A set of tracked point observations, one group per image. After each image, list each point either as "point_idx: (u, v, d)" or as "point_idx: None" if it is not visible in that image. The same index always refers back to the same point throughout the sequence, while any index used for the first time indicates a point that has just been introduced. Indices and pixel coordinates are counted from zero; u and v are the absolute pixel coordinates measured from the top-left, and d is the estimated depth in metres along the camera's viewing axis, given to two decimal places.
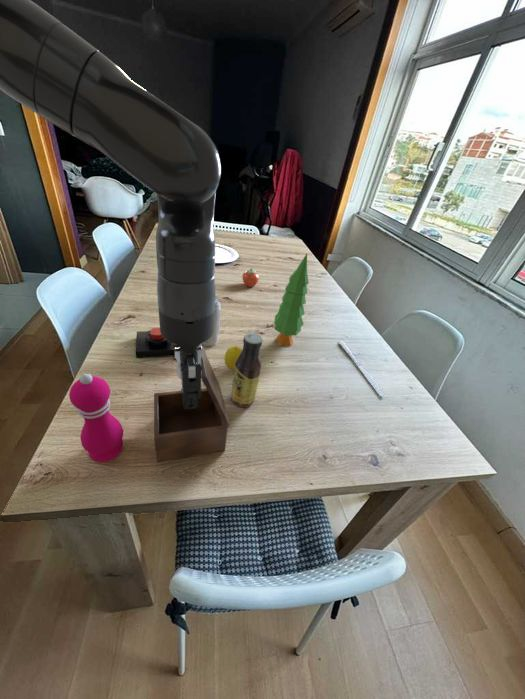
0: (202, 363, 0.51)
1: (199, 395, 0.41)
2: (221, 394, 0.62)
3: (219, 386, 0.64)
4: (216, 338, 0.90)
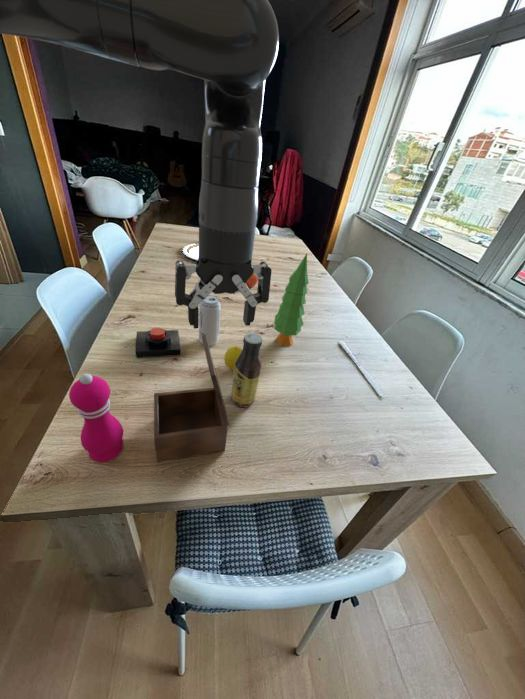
0: (210, 361, 0.51)
1: (176, 298, 0.42)
2: None
3: None
4: (216, 338, 0.90)
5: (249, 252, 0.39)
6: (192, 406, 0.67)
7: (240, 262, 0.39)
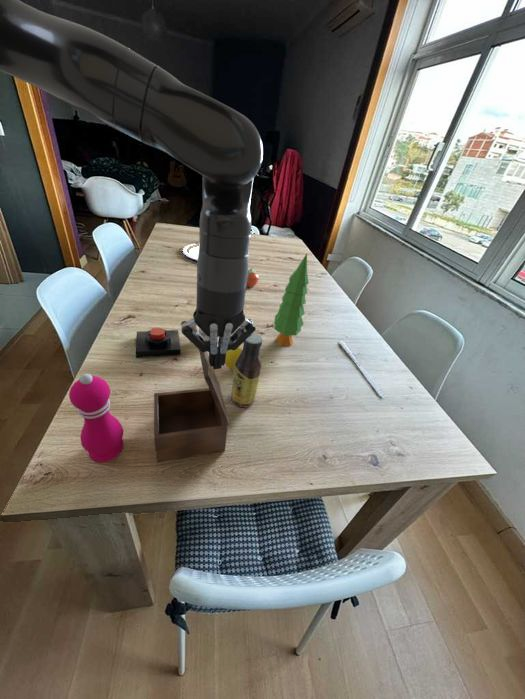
0: (205, 362, 0.51)
1: (199, 349, 0.50)
2: (221, 394, 0.63)
3: (219, 386, 0.64)
4: None
5: (240, 306, 0.45)
6: (192, 406, 0.67)
7: (232, 315, 0.45)
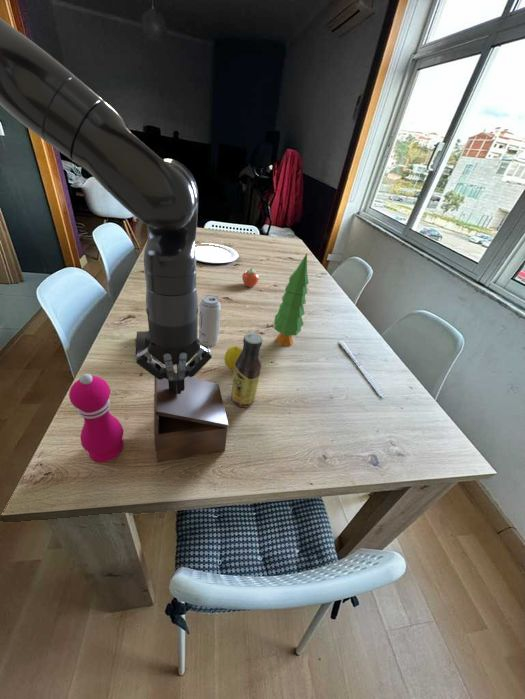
0: (155, 396, 0.52)
1: (156, 377, 0.51)
2: (218, 395, 0.62)
3: (215, 387, 0.64)
4: (216, 338, 0.90)
5: (192, 337, 0.46)
6: None
7: (183, 346, 0.46)
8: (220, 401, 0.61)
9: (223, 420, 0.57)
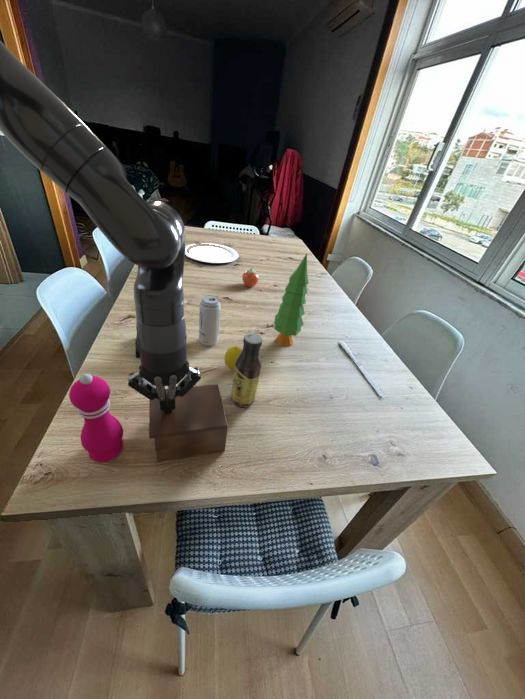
0: (149, 421, 0.55)
1: (147, 397, 0.53)
2: (216, 396, 0.63)
3: (214, 389, 0.64)
4: (216, 338, 0.90)
5: (180, 362, 0.48)
6: None
7: (172, 370, 0.48)
8: (219, 402, 0.61)
9: (221, 422, 0.57)
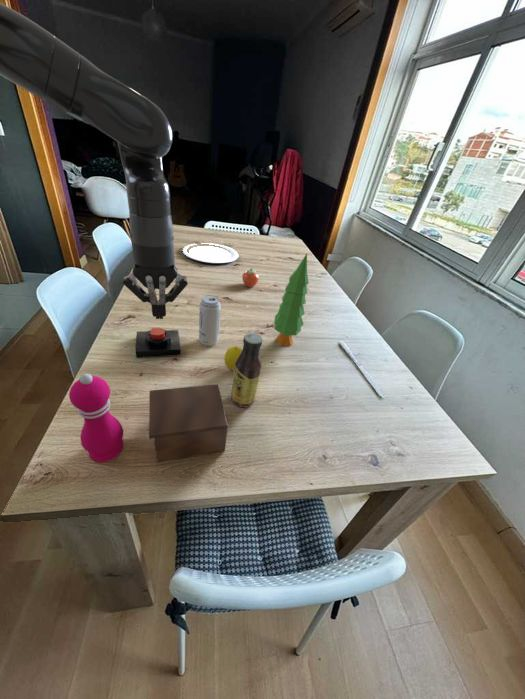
0: (149, 421, 0.55)
1: (140, 299, 0.60)
2: (216, 396, 0.63)
3: (214, 389, 0.64)
4: (216, 338, 0.90)
5: (168, 260, 0.55)
6: None
7: (161, 267, 0.55)
8: (219, 402, 0.61)
9: (221, 422, 0.57)
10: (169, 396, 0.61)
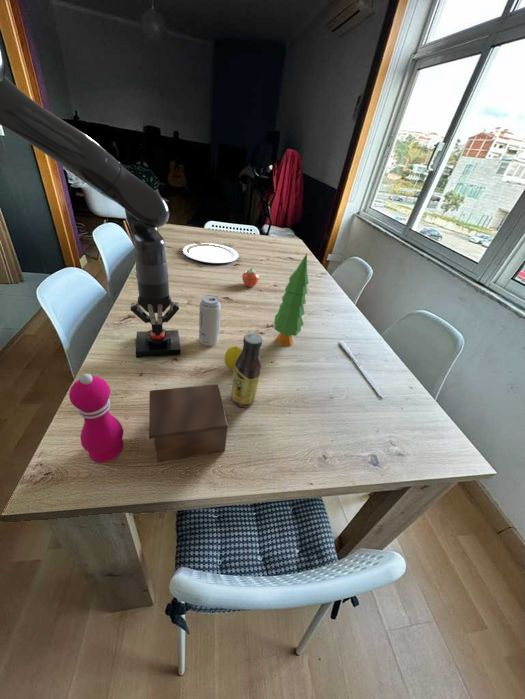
0: (149, 421, 0.55)
1: None
2: (216, 396, 0.63)
3: (214, 389, 0.64)
4: (216, 338, 0.90)
5: (164, 293, 0.75)
6: None
7: (159, 298, 0.75)
8: (219, 402, 0.61)
9: (221, 422, 0.57)
10: (169, 396, 0.61)
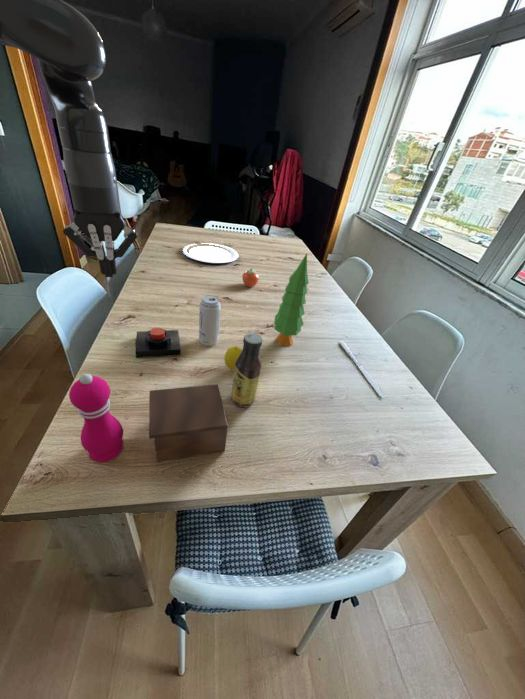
0: (149, 421, 0.55)
1: (85, 253, 0.56)
2: (216, 396, 0.63)
3: (214, 389, 0.64)
4: (216, 338, 0.90)
5: (111, 205, 0.51)
6: None
7: (103, 213, 0.51)
8: (219, 402, 0.61)
9: (221, 422, 0.57)
10: (169, 396, 0.61)
